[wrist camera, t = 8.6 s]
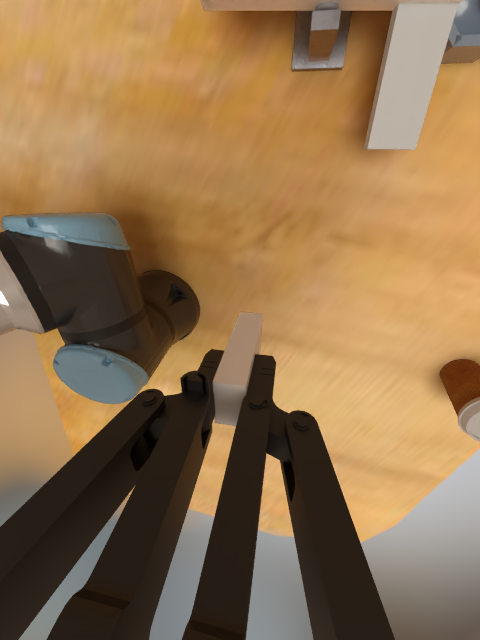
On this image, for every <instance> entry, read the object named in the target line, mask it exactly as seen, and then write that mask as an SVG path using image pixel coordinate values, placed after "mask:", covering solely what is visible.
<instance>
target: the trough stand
mask: <svg viewBox="0 0 480 640" xmlns="http://www.w3.org/2000/svg"><path fill="white" fill-rule="evenodd" d="M351 12H352V11H341V9H334V10H320V11H297V14H296V26H295V38H294V50H293V62H292V71H318V70H342V68H343V63H344V57H345V50H346V44H347V38H348V31H349V25H350V18H351Z"/></svg>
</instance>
